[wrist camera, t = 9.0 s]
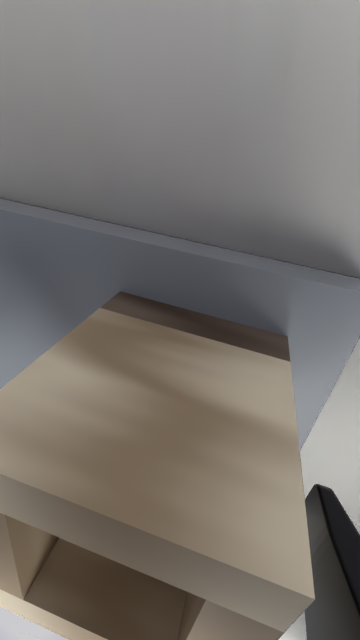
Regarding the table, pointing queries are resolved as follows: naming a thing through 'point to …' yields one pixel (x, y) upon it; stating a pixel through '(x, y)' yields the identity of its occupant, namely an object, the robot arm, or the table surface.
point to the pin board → (167, 293)
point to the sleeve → (154, 481)
